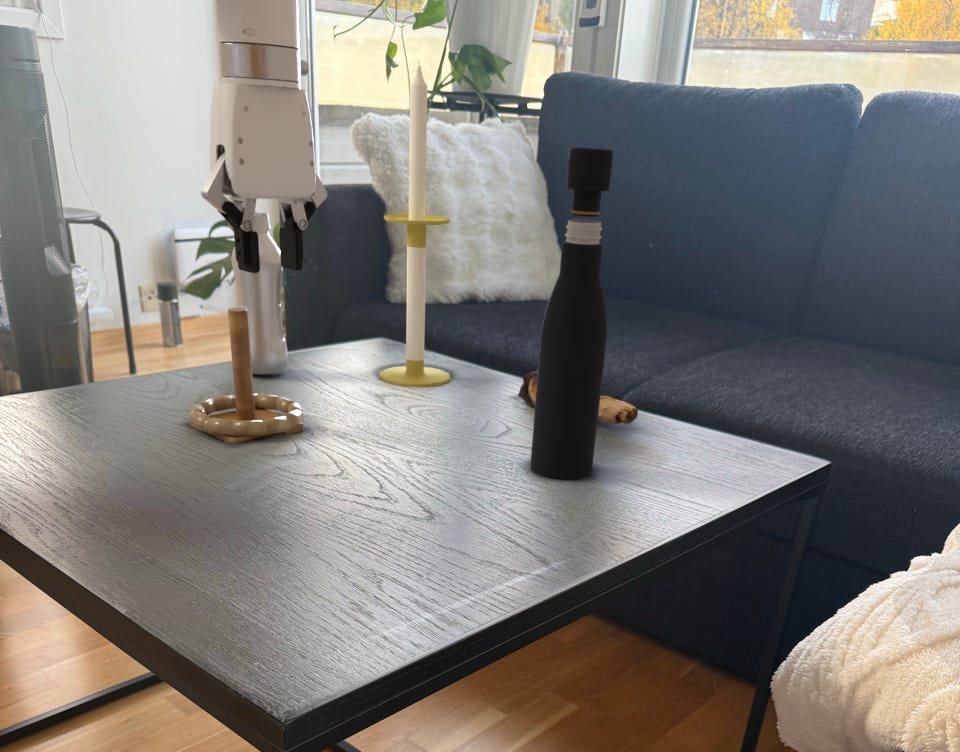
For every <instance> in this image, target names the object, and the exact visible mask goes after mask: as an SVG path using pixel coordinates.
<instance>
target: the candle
mask: <svg viewBox="0 0 960 752" xmlns="http://www.w3.org/2000/svg"><path fill="white" fill-rule="evenodd" d="M417 63H418V65H416V70H415V75H414V78H413V80H412V82H411V83H410V84H409V137H408V138H409V142H408V143H409V144H408V145H409V146H408V148H409V149H408V150H409V153H408V157H409V158H408V213H389V214H385V215H384V214H383V219H384V221H387V222H389V223H394V224H404V225H406V319H405V320H406V323H405V325H406V327H405V328H406V329H405V330H406V331H405V336H406V337H405V342H406V343H405V365H404V366H393V367H389V368H385V369H383V370H382V371H380V372H379V374H378V376H379V379H380V380H381V381H384V383H388V384H392V385H396V386H405V387H435V386H440V385H444V384H447V383H449V382H450V380H451V379H452V378H451V375H450V373H448V372H446V371H444V370H443V369H439V368H434V367H428V366H425V339H426V337H425V336H426V335H425V334H426V333H425V332H426V330H425V329H426V327H425V326H426V278H427V277H426V276H427V275H426V273H427V226H439V225H446V224H449V223H450V222H451V218H449V217H447V216H441V215H435V214H426V193H427V192H426V191H427V186H426V185H427V139H428V138H427V137H428V136H427V133H428V132H427V130H428V129H427V128H428V84H427V83H426V82H425V79H424V76H423V72H422V67H421V66H420V60H417Z"/></svg>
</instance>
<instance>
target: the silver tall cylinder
mask: <svg viewBox="0 0 960 752" xmlns="http://www.w3.org/2000/svg"><path fill="white" fill-rule="evenodd" d="M252 229H253V231H256V232H257V234H258V242H259V260H260V271H259V272H258V273H250V272H246V271H242V270H240V269H239V268H238V262H237V260H236V254H235V246H234V247H233V249H232V253H231V258H230V260H231V266H232V271H233V277H234V281H235V287H236V293H237V300H238V308H245V309H247V312H248V325H249V339H250V352H251V365H252V375H253V374H255V375H259V376H268V375H274V374H279V373H282V372H284V371H285V369H286V367H287V366H288V359H289V351H288V346H287V342H286V338H285V334H284V326H283V325H284V324H283V318H282V304H281V302H282V285H283V284H282V283H283V272H284V267H283V266H281V259H280V247H278V245H277V243H276V242H275V240H274V239H273V237H272V236H271V235H270V232H269V231H271V230H272V227H271V225H270V215H269V213H266V212H255V213H254V220H253V227H252Z"/></svg>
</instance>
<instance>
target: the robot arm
mask: <svg viewBox="0 0 960 752" xmlns="http://www.w3.org/2000/svg"><path fill="white" fill-rule="evenodd" d="M215 1H216V2H215V3H216V14H217V15H216V16H217V29H218V31H217V32H218V42H219V57H220V59H219V60H220V72H221V75H220V76H221V82H213V88H212V93H211V95H212V96H211V104H210V116H209V166H210V167H209V170H210V171H209V173H210V174H209V175H208V177H207V179H206V181H205V183H204V184H203V186H202V188H201V190H200V195H201V197H202V198H203V199H204V200H205V201H206V202H207V203H209V205H211V206H212V207H213V208H215V209H216V210H217V212H218V213H219V214H220V215H221V216H222V217H223V219H225V221H226V222H227V224H228V227H229V228H230V229H233V237H234V247H235V254H236V260H237V262H238V268H239V269H240V270H242V271H246V272H250V273H258V272H259V271H260V260H259V242H258V234H257V232H256V231H253V229H252V227H253V220H254V213H256V206H257V200H278V205H279V210H280V214H281V218H282V223H283V226H280V227H279V230H278V235H279V236H278V237H279V250H280V259H281V266H283V269H287V270H288V269H289V270H292V271H302V270H303V259H304V237H303V235H304V234H303V231H305V230H307V228H308V223H309V220H310V219H311V218H312V217H313V215H314V214H315V212H316V209H317V208H319V207H320V205H322V203H324V202H325V200H326V199H327V198H328V191H327V189H326V188H325V186H324V184H323V182H322V181H321V179H320V177H319V175H318V173H317V170H316V168H317V167H316V152H315V140H314V139H315V138H314V131H313V124H312V118H311V109H310V105H309V100H308V96H307V92H306V89H302V85H301V82H302V77H306V76H307V75H308V74H309V69H310V68H309V66H310V65H309V63H308V61H306V60H304V59H303V60H302V59H301V52H300V30H299V29H300V28H299V27H300V25H299V24H300V23H299V0H215ZM226 196H230V200H229V199H228V198H227V197H226Z"/></svg>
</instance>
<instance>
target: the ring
mask: <svg viewBox="0 0 960 752" xmlns="http://www.w3.org/2000/svg"><path fill="white" fill-rule="evenodd" d="M254 405H255V408H263V409H267V410H269V411H278V412H281V413H283V415H281V416H280V417H275V418H270V419H265V420H248V421H233V420H225V419H218V418H212V417H210V416H209V415H212V414H213V413H216V412H222V411H228V410H233V409H234V410H235V409H236V400H235V393H231V394H225V395H219V396H213V397H208V398H206V399H204V400H201V401H200V402H197V403H194V404H193V405H192V406H191V407H190V410H189V411H190V412H189V422H190V421H191V423H192V424H193V425H194V426H196V427H198V428H201V429H203V430H205V431H207V432H209V433H215V434H222V435H229V436H263V435H268V434H273V433H278V432H283V431H287V430H290V429H291V428H293V427H294V426H296V425H298V424H299V423H301V424H302V422H303V420H304V417H305V415H304V412H303V409H302V405H301V404H300V403H298V402H296V401H293V400H292V399H289V398H286V397H283V396H278V395H272V394H271V395H270V394H265V393H264V394H263V393H254Z"/></svg>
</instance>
